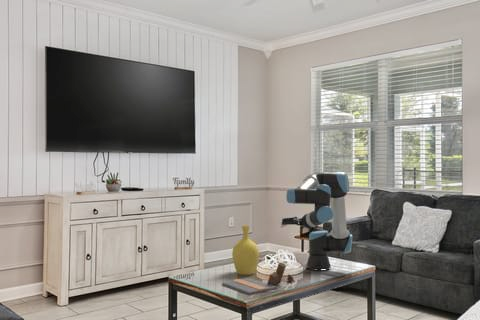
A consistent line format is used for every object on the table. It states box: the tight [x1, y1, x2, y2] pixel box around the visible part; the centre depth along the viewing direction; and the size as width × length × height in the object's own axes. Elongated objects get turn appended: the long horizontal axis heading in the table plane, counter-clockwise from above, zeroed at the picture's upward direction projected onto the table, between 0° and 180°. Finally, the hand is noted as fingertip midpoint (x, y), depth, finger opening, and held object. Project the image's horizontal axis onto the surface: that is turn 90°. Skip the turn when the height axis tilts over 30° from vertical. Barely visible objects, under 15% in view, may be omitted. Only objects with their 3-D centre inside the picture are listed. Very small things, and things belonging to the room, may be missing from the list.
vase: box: [231, 225, 260, 276], centre depth 273 cm, size 16×16×28 cm
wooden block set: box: [267, 262, 295, 286], centre depth 249 cm, size 18×9×10 cm, turn 136°
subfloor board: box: [221, 277, 278, 296], centre depth 241 cm, size 18×24×2 cm
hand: (292, 228), depth 251 cm, fingers open, 13 cm apart
